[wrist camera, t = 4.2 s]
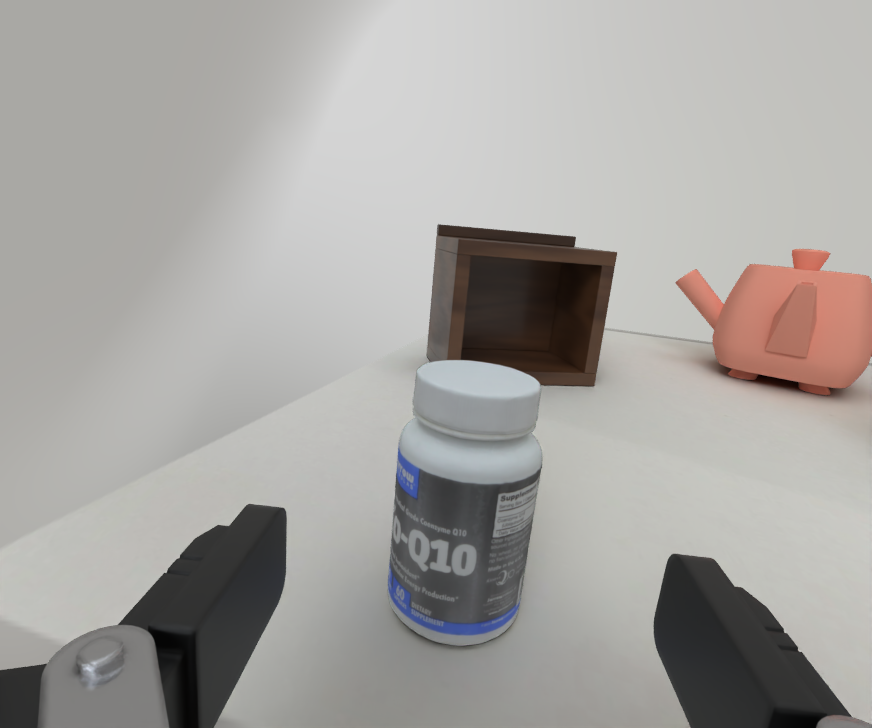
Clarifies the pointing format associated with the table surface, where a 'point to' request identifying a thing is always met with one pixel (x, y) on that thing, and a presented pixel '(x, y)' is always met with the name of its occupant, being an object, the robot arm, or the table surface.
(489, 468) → the pill bottle
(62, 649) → the robot arm
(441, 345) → the shelf
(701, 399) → the table surface
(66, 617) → the table surface
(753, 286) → the teapot
